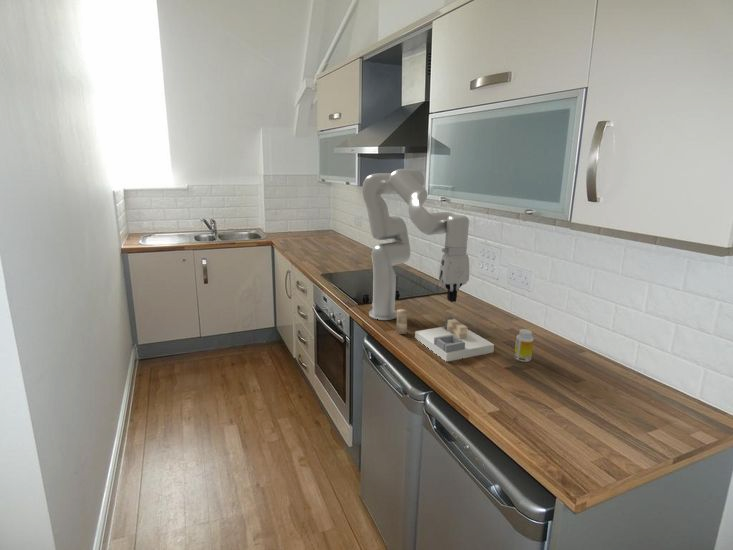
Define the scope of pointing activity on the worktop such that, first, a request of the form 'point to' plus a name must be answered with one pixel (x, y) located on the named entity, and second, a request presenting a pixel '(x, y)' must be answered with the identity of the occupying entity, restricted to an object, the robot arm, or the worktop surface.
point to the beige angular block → (456, 327)
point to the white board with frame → (453, 343)
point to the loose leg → (401, 321)
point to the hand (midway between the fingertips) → (451, 300)
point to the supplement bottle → (524, 345)
